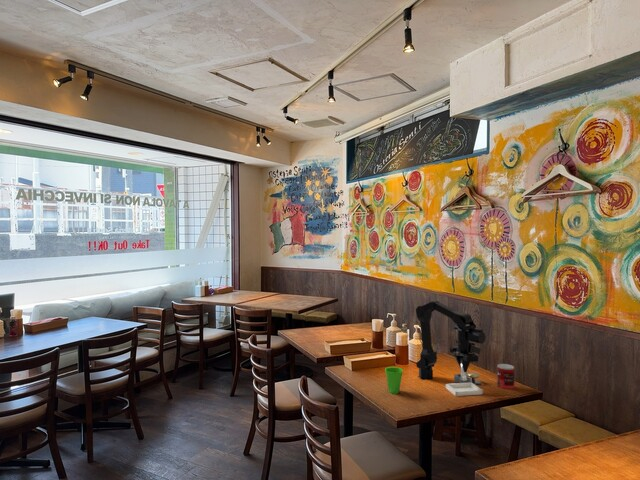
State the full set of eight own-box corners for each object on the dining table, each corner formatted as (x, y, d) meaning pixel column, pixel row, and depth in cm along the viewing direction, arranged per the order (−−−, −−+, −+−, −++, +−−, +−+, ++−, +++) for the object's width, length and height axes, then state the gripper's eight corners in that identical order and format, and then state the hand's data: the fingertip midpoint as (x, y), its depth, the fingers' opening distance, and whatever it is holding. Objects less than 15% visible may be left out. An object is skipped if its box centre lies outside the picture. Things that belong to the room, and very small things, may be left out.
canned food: (500, 383, 214) (500, 362, 214) (516, 387, 208) (516, 366, 208) (494, 387, 208) (494, 366, 208) (511, 391, 203) (511, 369, 203)
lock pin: (462, 380, 201) (462, 363, 201) (459, 378, 204) (459, 361, 204) (468, 380, 201) (468, 362, 201) (465, 378, 204) (465, 361, 204)
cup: (392, 396, 197) (392, 373, 197) (381, 390, 205) (381, 368, 205) (407, 393, 201) (407, 370, 201) (395, 387, 209) (395, 365, 209)
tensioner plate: (460, 387, 209) (460, 377, 209) (452, 381, 218) (452, 372, 218) (484, 385, 211) (484, 376, 211) (475, 379, 220) (475, 370, 220)
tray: (455, 397, 196) (455, 391, 196) (445, 388, 207) (445, 383, 207) (483, 395, 198) (483, 390, 198) (471, 387, 209) (471, 382, 209)
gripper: (489, 343, 194) (489, 376, 194) (469, 334, 213) (469, 364, 213) (467, 344, 193) (467, 377, 193) (449, 335, 211) (449, 365, 211)
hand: (463, 370), depth 202 cm, fingers closed on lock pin, 3 cm apart
